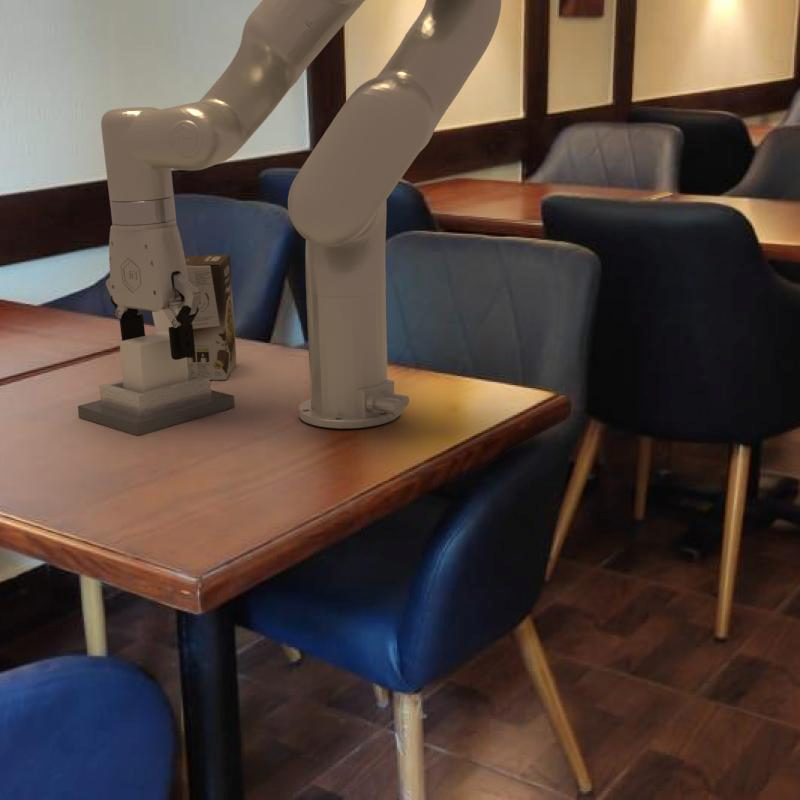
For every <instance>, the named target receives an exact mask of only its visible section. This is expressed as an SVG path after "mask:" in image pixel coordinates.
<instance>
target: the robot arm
mask: <svg viewBox="0 0 800 800" xmlns="http://www.w3.org/2000/svg"><path fill="white" fill-rule="evenodd" d="M365 1H366V0H261V1H260V3H259V4H258V5H257V6H256V7H255V8H254V9H253V11H252V12H251V13H250V14H249V16H248V17H247V19H246V21H245V23H244V26H243V29H242V35H241V39H240V45H239V47H238V49H237V51H236V53H235V55H234V56H233V58H232V60H231V62H230V63H229V65H228V66H227V67H226V69H225V70H224V71H223V73H222V74H221V75H220V76H219V78H217V80H216V82H215V83H214V84H212V86H211V87H210V89H208V91H207V92H206V93H205V94H204V95H203V96H202V98H200V100H199V101H196V102H189V103H186V104H181V105H174V106H172V107H166V108H161V109H159V108H156V107H150V106H144V107H142V106H138V107H136V106H135V107H123V108H116V109H115V108H114V109H110V110H108V111H106V112H104V113H103V115H102V117H101V121H100V124H101V125H100V126H101V136H102V146H103V154H104V163H105V171H106V180H107V188H108V195H109V205H110V212H111V213H110V215H111V223H112V225H110V231H109V242H108V244H109V245H108V246H109V247H108V253H109V254H108V255H109V257H108V262H109V278H108V279H107V280H105V287H106V288H107V290H108V293H109V295H110V302H111V303H112V305H113V307H114V309H115V316H116V318H117V319H119V328H120V335H121V341H124V340H129V339H133V338H137V337H142V336H146V331H145V329H146V328H145V323H144V322H145V321H144V314H142V313H141V314H140V311H146V312H151V313H152V312H157V311H161V310H162V309H163V311H164V313H165V314H166V316H167V318H168V319H169V321H170V323H171V324H172V326H173V327H169V338H170V348H171V357H172V359H174V360H179V359H182V358H186V357H190V356H193V355H194V354H195V345H194V335H193V325H192V324H193V323H195V316H196V315H197V313H198V311H199V308H198V306H199V302H200V298H201V292H200V290H198V289H197V288H196V287H195V286H194V285H193V284H191V283H190V282H189V281H188V276H187V268H186V262H185V257H186V256H185V252H184V247H183V246H184V245H183V241H182V238H181V233H180V230H179V228H178V224H177V215H176V206H175V195H174V194H175V193H174V187H173V186H174V185H173V176H172V169H173V170H179V171H201V170H204V169H205V170H206V169H208V168H210V167H213V166H215V165H218V164H220V163H223V162H226V161H227V160H229V159H231V158H232V157H233V156H235V155H236V153H238V151H239V150H241V149H242V147H243V146H244V145H245V144H246V143H247V142H248V141H249V139H251V137H252V136H253V135H254V134H255V132H256V131H257V130H258V129H259V128H260V127H261V126H262V125H263V123H265V122H266V120H267V119H268V117H270V115H271V114H272V113H273V112H274V110H275V109H276V108H277V106H278V105H279V104H280V102H281V101H282V100H283V99H284V97H286V95H287V93H288V92H289V91H290V90H291V88H292V87H293V86H294V85H295V84H296V83H297V82H298V81H299V79H300V78H301V76H302V75H303V73H305V71H306V70H307V68H308V67H309V66H310V65H311V63H313V61H314V60H315V58H316V57H317V56H318V55H319V54H320V53H322V50H323V49H324V48H325V47H326V46H327V45H328V43H329V42H330V41H331V40H332V39H333V37H335V35H337V33H338V32H339V31H340V29H342V27H343V26H344V25H345V24H346V23H347V22H348V20H350V19H351V17H352V16H353V15H354V14H355V12H356V11H357V10H358V9H359V8H360V7H361V6H362V5H363V3H364V2H365ZM501 9H502V0H425V2H424V6H423V8H422V10H421V12H419V13H420V14H419V15H418V17H417V18H416V20H415V21H414V23H412V24H411V26H410V28H409V29H408V31H407V32H406V33H405V35H404V37H403V39H401V42H400V44H399V46H398V47H397V48H396V50H395V51H394V53H393V54H392V56H391V57H390V59H388V61H387V63H386V64H385V65H384V66H383V68H382V70H380V72H379V73H378V74H377V76H375V77H374V78H371V79H369V80H367V81H365V82H363V83H362V84H361V85H359V87H357V88H356V89H355V90H354V91H353V92H352V93H351V94H350V96H348V98H347V100H345V102H344V104H343V105H342V107H341V108H340V110H339V111H338V112H337V114H336V116H335V117H334V118H333V120H332V122H331V123H330V124H329V126H328V127H327V129H326V130H325V132H324V134H323V135H322V136H321V138H320V139H319V141H318V143H317V144H316V146H315V147H314V149H313V150H312V152H311V153H310V155H309V156H308V157H307V159H306V160H305V162H304V164H302V167H301V168H300V169H299V171H298V172H297V174H296V175H295V177H294V179H293V181H292V183H291V185H290V188H289V190H288V197H287V208H288V209H287V210H288V214H289V218H290V221H291V223H292V225H293V227H294V229H295V230H296V232H298V234H300V236H301V237H302V238H303V239H305V290H306V292H305V293H306V311H307V312H306V314H307V319H306V320H307V321H306V322H307V338H308V339H307V340H308V341H307V342H308V343H307V344H308V361H309V362H308V367H309V388H310V390H309V391H310V392H309V393H310V398H308V399H307V400H304V401H303V402H301V403H300V404H299V406H298V408H297V409H298V412H297V413H298V417H299V419H301V421H303V422H304V423H306V424H308V425H312V426H316V427H320V428H327V429H345V430H346V429H351V430H352V429H363V428H370V427H376V426H380V425H385V424H387V423H390V422H393V421H394V420H396V419H398V417H399V416H401V415H402V414H403V413H404V410H405V407H407V406H408V405H409V403H410V402H409V401H410V398H409V396H408V395H405V394H400V393H395V380H393V379H389V378H388V344H387V343H388V341H387V340H388V338H387V337H388V336H387V334H388V333H387V299H386V298H387V297H386V289H387V280H386V278H387V275H386V274H387V273H386V241H387V239H386V238H387V235H386V234H387V209H388V208H387V199H388V198H389V196H390V195H391V194H392V192H393V191H394V189H395V188H396V186H397V185H398V184H399V182H400V181H401V179H402V178H403V176H404V175H405V173H406V172H407V171H408V170H409V168H410V167H411V165H412V163H414V161H415V159H416V158H417V156H418V155H419V154H420V153H421V152H422V151H423V149H425V148H426V146H427V145H428V144H429V143H430V140H431V139H432V136H433V135H434V133H435V130H436V128H437V126H438V125H439V123H440V121H441V120H442V118H443V116H444V115H445V114H446V112H447V110H448V109H449V107H450V106H451V105H452V103H453V101H455V99H456V97H457V96H458V95H459V93H460V92H461V90H462V88H463V87H464V85H465V84H466V82H467V81H468V79H469V77H470V76H471V74H472V73H473V71H474V70H475V68H476V66H477V65H478V63H479V62H480V60H481V59H482V57H483V55H484V54H485V52H486V51H487V49H488V47H489V45H490V44H491V41H492V40H493V37H494V35H495V32H496V30H497V26H498V25H499V19H500V15H501ZM174 309H179V310H180V312H179V313H178V315H177V314H176V312H175V310H174Z"/></svg>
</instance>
